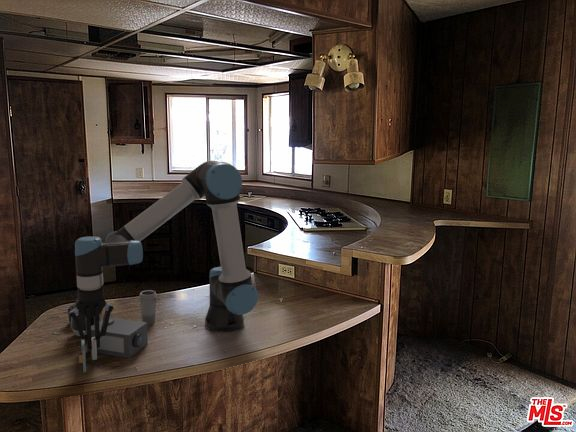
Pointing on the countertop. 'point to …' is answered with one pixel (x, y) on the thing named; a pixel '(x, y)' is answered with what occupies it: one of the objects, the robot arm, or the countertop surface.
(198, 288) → the countertop surface
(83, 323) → the black egg shape
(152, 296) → the cup
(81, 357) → the side door
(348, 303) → the countertop surface
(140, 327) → the box
